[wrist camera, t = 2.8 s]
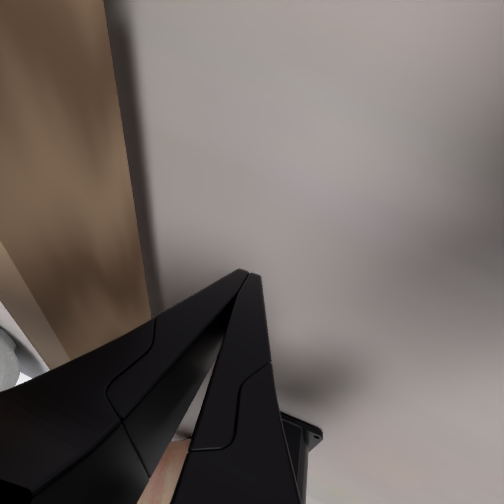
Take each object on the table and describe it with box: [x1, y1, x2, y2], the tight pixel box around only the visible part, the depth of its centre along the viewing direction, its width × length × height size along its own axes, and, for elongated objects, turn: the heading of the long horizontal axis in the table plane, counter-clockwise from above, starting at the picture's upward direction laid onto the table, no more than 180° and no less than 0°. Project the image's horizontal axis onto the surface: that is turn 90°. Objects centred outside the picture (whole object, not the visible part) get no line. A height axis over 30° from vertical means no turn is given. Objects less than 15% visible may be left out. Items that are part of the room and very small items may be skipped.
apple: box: [137, 439, 191, 504], centre depth 27 cm, size 8×8×8 cm
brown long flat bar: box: [0, 0, 152, 370], centre depth 10 cm, size 22×3×6 cm, turn 170°
